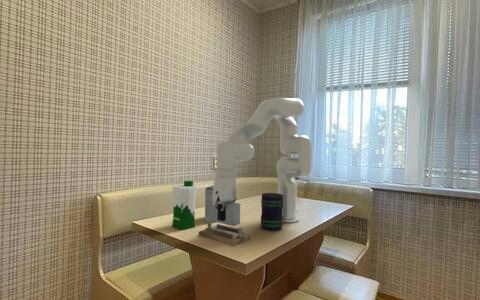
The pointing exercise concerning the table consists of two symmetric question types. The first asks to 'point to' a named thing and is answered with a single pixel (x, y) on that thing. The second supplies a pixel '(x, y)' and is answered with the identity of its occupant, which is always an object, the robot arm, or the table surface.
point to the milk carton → (184, 205)
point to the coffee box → (208, 202)
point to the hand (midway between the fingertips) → (224, 218)
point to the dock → (224, 234)
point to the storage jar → (271, 211)
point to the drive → (226, 213)
